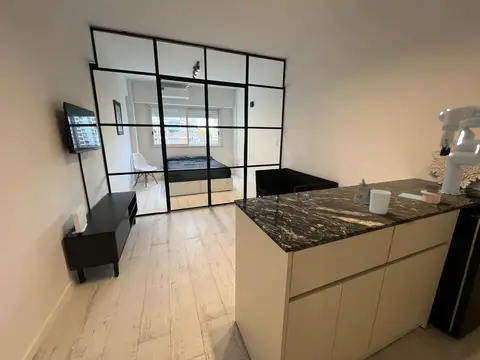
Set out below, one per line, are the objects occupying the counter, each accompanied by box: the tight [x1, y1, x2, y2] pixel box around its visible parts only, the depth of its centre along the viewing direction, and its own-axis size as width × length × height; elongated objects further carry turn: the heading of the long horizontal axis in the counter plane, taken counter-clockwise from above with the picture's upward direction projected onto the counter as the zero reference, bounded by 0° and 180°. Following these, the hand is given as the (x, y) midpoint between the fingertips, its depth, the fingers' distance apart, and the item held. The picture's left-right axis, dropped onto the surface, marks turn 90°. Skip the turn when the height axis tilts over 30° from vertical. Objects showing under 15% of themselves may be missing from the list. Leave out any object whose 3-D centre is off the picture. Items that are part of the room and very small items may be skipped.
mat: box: [397, 192, 422, 201], centre depth 147 cm, size 13×13×1 cm
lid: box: [420, 183, 445, 197], centre depth 134 cm, size 11×11×6 cm
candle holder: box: [368, 189, 392, 215], centre depth 118 cm, size 10×10×12 cm
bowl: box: [421, 193, 442, 205], centre depth 135 cm, size 8×8×6 cm
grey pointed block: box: [353, 178, 379, 205], centre depth 137 cm, size 16×16×15 cm
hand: (444, 155), depth 136 cm, fingers open, 9 cm apart
